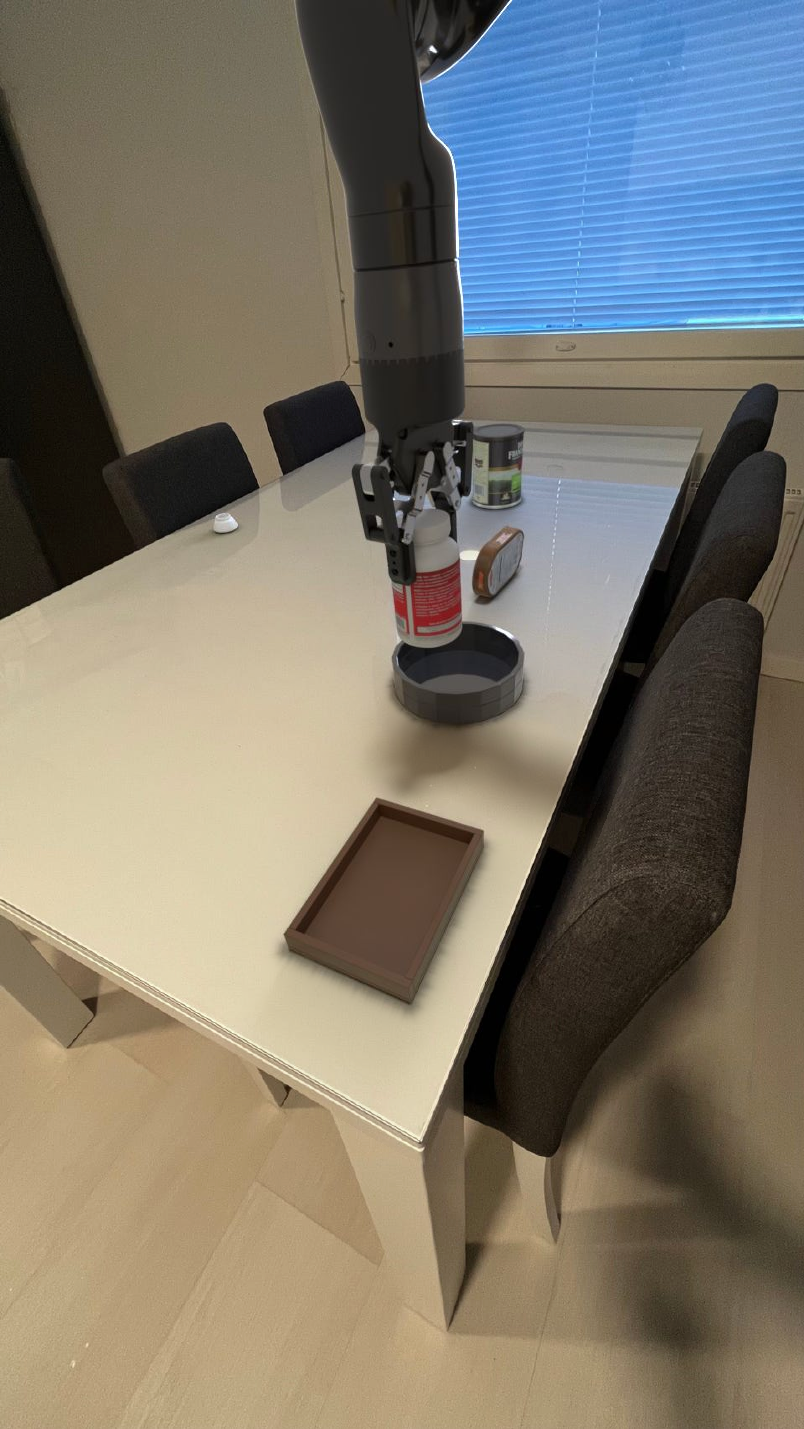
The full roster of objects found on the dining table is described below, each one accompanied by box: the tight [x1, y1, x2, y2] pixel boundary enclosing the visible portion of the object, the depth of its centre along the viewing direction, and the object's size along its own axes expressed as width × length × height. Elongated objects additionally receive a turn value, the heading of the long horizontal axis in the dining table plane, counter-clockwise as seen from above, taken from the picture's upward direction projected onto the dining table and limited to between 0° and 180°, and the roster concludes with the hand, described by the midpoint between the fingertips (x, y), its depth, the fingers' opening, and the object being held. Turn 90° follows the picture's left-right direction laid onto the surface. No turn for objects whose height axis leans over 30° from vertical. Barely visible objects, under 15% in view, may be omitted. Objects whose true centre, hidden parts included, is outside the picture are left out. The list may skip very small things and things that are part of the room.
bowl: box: [391, 620, 526, 725], centre depth 77 cm, size 16×16×4 cm
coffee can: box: [472, 423, 525, 510], centre depth 124 cm, size 10×10×14 cm
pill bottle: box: [390, 508, 463, 648], centre depth 53 cm, size 6×6×11 cm
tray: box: [283, 797, 485, 1004], centre depth 53 cm, size 16×11×2 cm
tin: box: [471, 525, 525, 598], centre depth 96 cm, size 15×3×8 cm, turn 149°
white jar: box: [212, 512, 239, 534], centre depth 127 cm, size 5×3×5 cm
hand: (425, 566), depth 53 cm, fingers closed on pill bottle, 6 cm apart
